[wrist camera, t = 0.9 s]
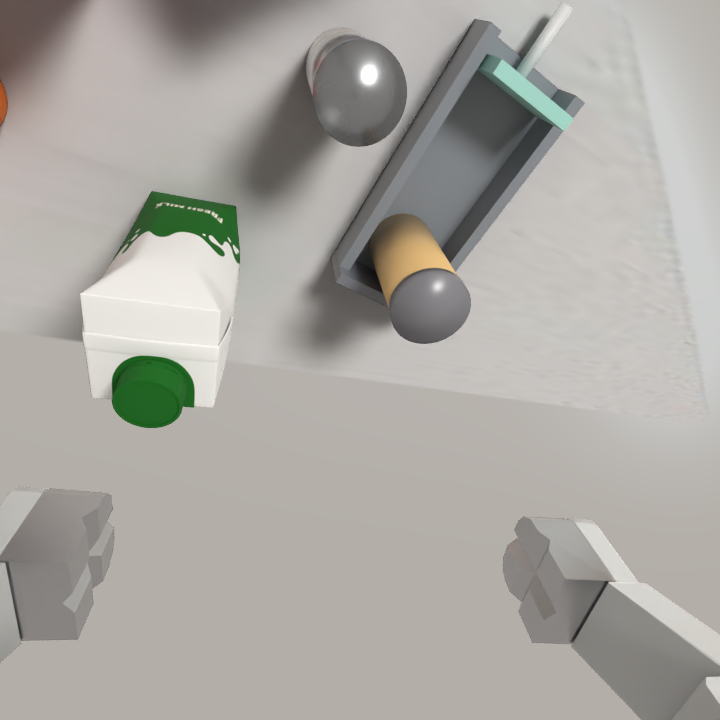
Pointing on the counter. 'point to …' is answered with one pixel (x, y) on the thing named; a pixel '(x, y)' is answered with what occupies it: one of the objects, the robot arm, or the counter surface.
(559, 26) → the pusher
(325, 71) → the steel tin
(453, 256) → the grey tray
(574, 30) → the counter surface
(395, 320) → the amber jar
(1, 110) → the coffee cup
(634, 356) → the counter surface
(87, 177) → the counter surface
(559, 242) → the counter surface
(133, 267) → the milk carton
